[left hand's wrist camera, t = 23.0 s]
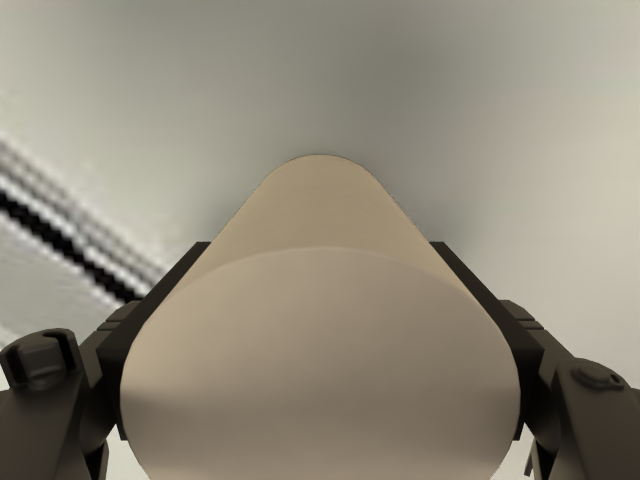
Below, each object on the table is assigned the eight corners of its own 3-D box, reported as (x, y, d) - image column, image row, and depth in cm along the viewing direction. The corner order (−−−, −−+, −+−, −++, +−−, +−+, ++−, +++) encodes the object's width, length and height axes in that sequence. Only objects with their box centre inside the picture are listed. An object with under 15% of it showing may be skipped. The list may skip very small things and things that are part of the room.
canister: (264, 135, 17) (137, 188, 5) (414, 178, 18) (604, 312, 6) (234, 273, 20) (105, 518, 8) (366, 306, 21) (428, 574, 9)
